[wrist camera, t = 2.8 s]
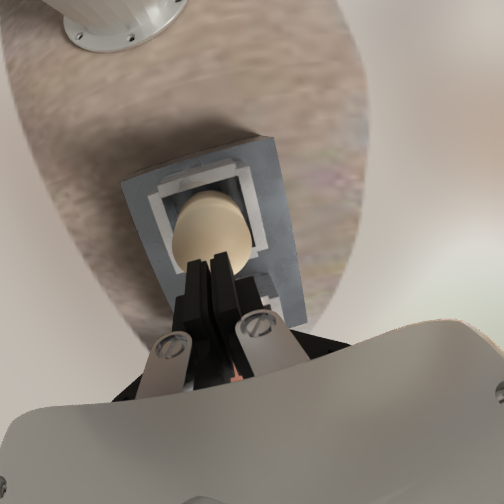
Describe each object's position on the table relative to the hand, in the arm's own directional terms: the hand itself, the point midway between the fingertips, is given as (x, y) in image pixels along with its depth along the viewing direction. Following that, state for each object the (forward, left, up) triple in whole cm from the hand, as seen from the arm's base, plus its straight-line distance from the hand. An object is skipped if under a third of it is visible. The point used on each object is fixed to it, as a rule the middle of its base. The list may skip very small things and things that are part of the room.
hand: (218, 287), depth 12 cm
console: (+5, 0, -16) cm, 17 cm away
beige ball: (0, 0, -7) cm, 8 cm away
